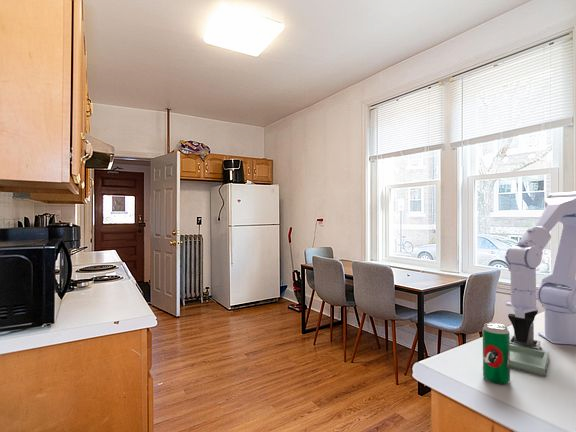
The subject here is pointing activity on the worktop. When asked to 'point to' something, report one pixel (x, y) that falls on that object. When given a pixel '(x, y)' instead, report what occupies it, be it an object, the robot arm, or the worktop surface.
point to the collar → (536, 344)
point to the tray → (528, 360)
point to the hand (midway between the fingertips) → (523, 338)
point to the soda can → (496, 353)
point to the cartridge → (530, 337)
